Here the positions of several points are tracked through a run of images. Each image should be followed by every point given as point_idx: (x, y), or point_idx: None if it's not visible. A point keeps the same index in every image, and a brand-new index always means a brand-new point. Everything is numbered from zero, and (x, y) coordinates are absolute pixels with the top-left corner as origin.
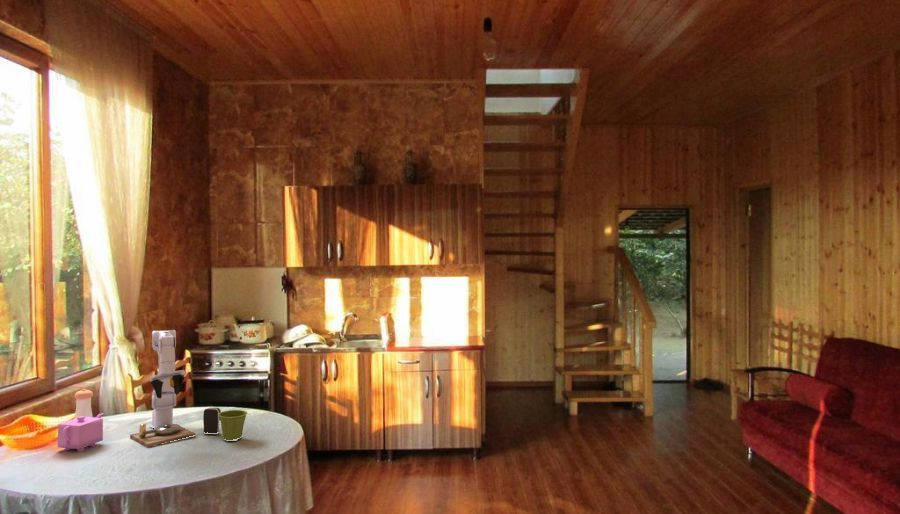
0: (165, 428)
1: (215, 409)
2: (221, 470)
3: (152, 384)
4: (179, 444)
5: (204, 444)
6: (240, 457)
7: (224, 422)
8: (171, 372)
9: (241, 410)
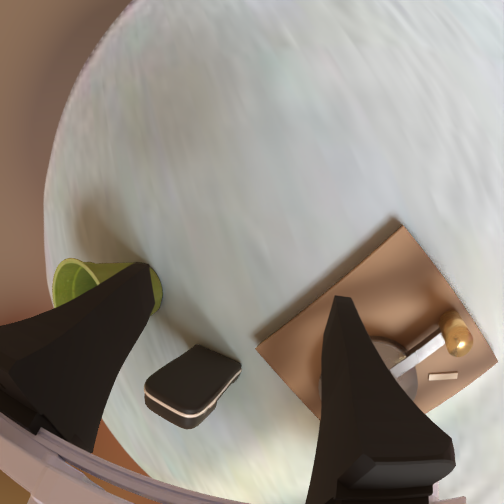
0: None
1: (147, 390)
2: (115, 46)
3: (421, 420)
4: (288, 256)
5: (201, 248)
6: (94, 132)
7: (101, 267)
8: (6, 453)
9: None
